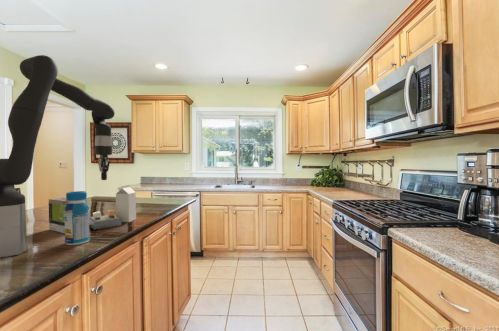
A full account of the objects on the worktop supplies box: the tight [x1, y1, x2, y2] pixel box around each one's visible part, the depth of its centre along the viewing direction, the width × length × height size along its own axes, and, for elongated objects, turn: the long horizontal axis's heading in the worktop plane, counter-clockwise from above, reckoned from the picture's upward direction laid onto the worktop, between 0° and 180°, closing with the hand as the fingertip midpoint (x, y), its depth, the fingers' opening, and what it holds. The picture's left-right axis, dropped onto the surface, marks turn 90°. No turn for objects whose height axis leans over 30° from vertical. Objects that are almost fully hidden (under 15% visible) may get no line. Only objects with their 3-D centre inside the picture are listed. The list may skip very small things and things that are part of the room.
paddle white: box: [92, 210, 103, 218], centre depth 130 cm, size 4×3×2 cm
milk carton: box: [115, 184, 137, 223], centre depth 141 cm, size 7×7×19 cm
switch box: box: [89, 214, 122, 231], centre depth 132 cm, size 14×12×4 cm
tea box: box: [48, 196, 87, 234], centre depth 124 cm, size 15×10×15 cm, turn 58°
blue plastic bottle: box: [64, 190, 91, 246], centre depth 104 cm, size 8×8×20 cm
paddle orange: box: [106, 209, 116, 215], centre depth 134 cm, size 4×3×2 cm
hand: (104, 179), depth 132 cm, fingers closed
